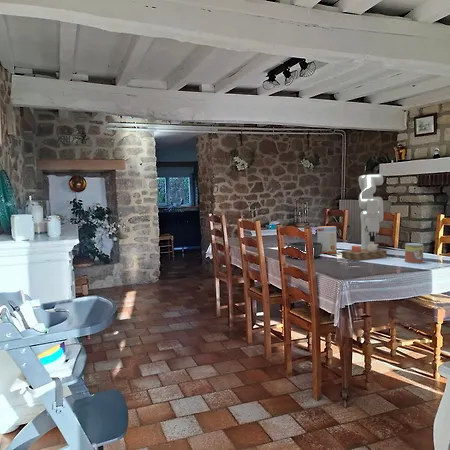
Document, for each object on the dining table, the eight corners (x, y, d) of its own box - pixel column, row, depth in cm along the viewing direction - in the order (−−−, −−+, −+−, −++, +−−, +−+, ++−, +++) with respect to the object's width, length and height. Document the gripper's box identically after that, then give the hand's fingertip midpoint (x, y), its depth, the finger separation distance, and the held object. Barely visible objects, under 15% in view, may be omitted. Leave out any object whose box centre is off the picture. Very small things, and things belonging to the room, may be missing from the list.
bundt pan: (283, 254, 322) (282, 241, 321) (315, 253, 325) (315, 240, 324) (292, 260, 295) (292, 246, 294) (328, 258, 299) (328, 245, 298)
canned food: (411, 263, 273) (411, 245, 271) (401, 260, 284) (401, 243, 282) (426, 262, 275) (427, 244, 274) (415, 259, 286) (416, 242, 285)
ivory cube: (372, 249, 304) (372, 244, 303) (376, 250, 300) (376, 244, 299) (367, 250, 302) (367, 244, 302) (371, 251, 298) (371, 245, 298)
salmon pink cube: (356, 251, 299) (356, 245, 298) (360, 252, 295) (360, 246, 294) (351, 252, 297) (351, 245, 297) (355, 252, 293) (355, 246, 293)
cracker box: (335, 252, 325) (335, 225, 323) (336, 253, 319) (336, 226, 317) (317, 252, 327) (317, 226, 325) (318, 253, 321) (318, 226, 319)
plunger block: (373, 254, 310) (373, 248, 310) (386, 257, 297) (386, 250, 297) (342, 257, 300) (342, 251, 300) (354, 260, 287) (354, 253, 287)
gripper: (377, 215, 305) (376, 240, 306) (360, 216, 299) (360, 241, 301) (384, 216, 298) (384, 241, 299) (367, 216, 292) (367, 242, 294)
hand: (372, 241), depth 300 cm, fingers closed
